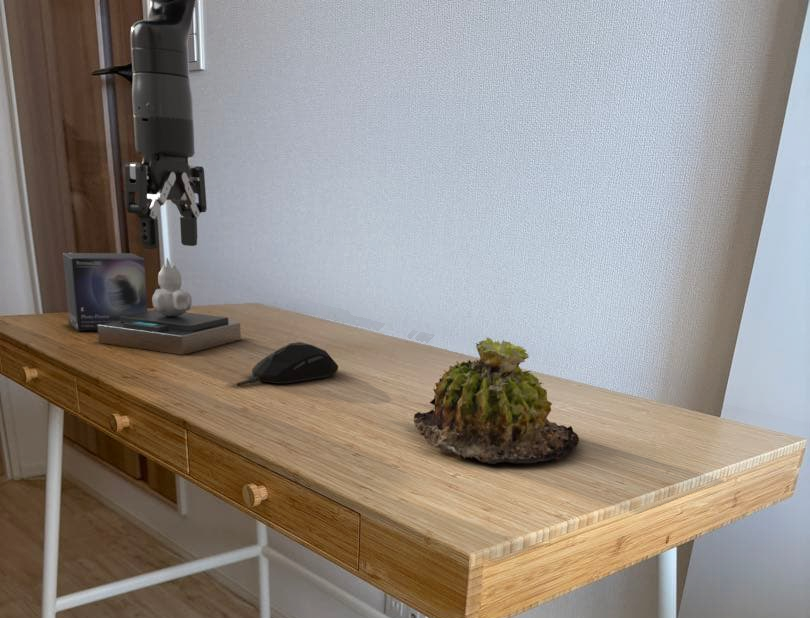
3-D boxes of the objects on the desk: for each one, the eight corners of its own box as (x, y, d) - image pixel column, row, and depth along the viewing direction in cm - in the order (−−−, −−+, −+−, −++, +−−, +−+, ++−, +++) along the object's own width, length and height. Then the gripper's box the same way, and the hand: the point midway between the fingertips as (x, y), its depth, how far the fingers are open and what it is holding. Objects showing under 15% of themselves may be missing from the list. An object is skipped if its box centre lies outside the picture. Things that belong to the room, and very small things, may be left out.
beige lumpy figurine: (179, 312, 122) (176, 255, 119) (202, 319, 118) (200, 259, 115) (145, 314, 119) (140, 255, 115) (167, 321, 114) (164, 260, 111)
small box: (78, 332, 121) (70, 257, 117) (68, 325, 126) (60, 252, 122) (150, 329, 127) (145, 256, 122) (138, 322, 132) (133, 252, 127)
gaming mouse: (220, 381, 98) (219, 346, 96) (313, 365, 108) (314, 334, 106) (255, 391, 94) (254, 356, 92) (348, 374, 104) (348, 342, 103)
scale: (98, 342, 115) (96, 319, 114) (162, 329, 127) (161, 308, 126) (183, 355, 110) (181, 330, 109) (240, 339, 122) (240, 317, 121)
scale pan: (120, 322, 117) (119, 316, 116) (160, 314, 124) (160, 309, 124) (191, 331, 113) (191, 325, 112) (228, 323, 120) (228, 317, 120)
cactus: (601, 470, 74) (617, 360, 70) (422, 466, 72) (429, 354, 68) (552, 418, 89) (563, 326, 86) (405, 414, 88) (409, 320, 84)
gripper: (173, 119, 115) (179, 242, 122) (102, 109, 103) (113, 247, 110) (219, 121, 113) (223, 247, 119) (152, 111, 101) (160, 252, 107)
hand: (170, 247), depth 115 cm, fingers open, 8 cm apart
